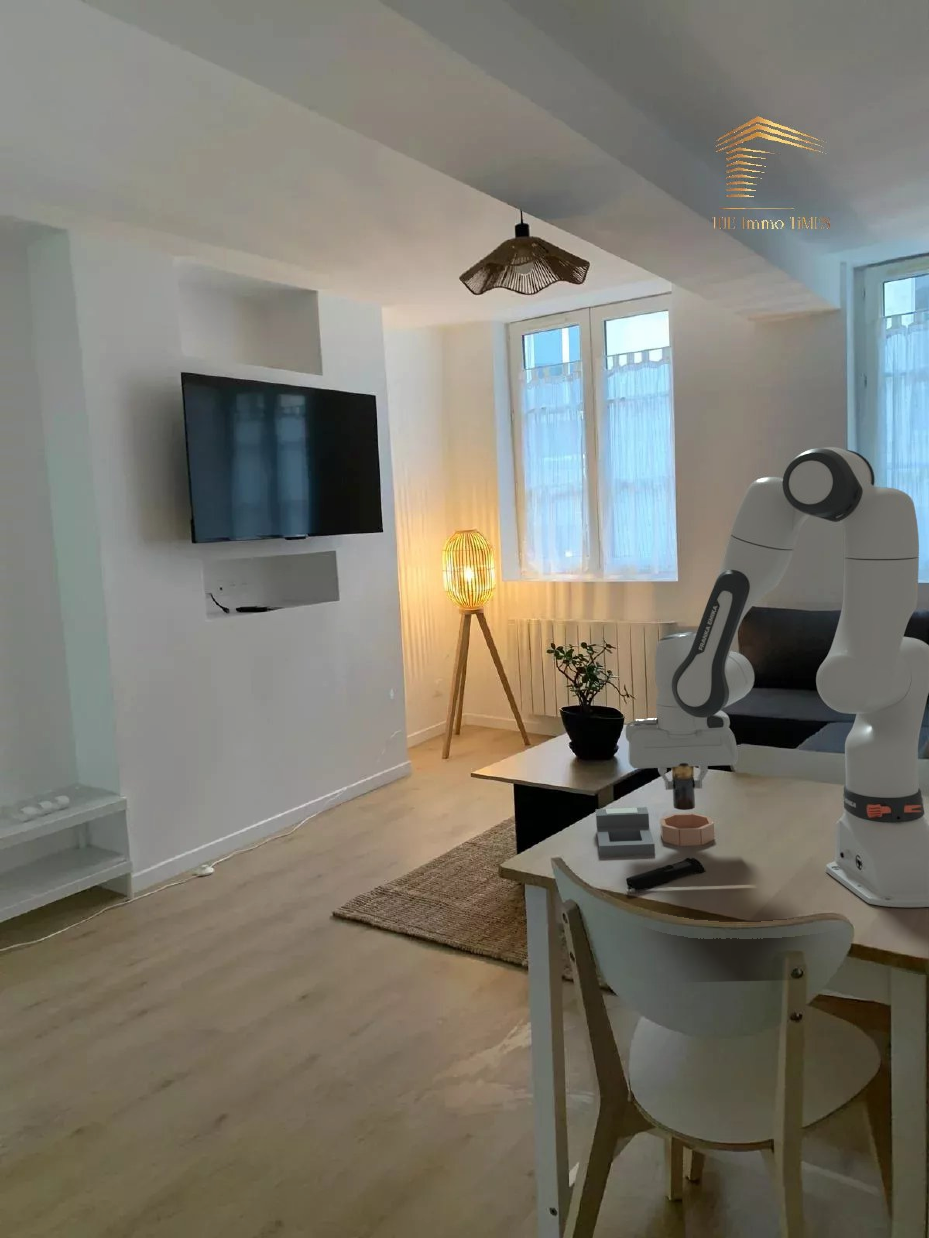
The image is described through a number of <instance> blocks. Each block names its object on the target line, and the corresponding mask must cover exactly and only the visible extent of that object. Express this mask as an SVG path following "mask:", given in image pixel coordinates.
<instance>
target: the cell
mask: <svg viewBox="0 0 929 1238" xmlns="http://www.w3.org/2000/svg"><path fill="white" fill-rule="evenodd" d="M694 769H695V766H688V764H687V763H681V764H679V766H678V767H671V779H672V780H673V788H674V789H673V790H672V800H673V809H676V810H681V811H688V810H689V811H690V810H693V809H695V808H696V802H695V799H696V798H695V797H696V796H695V795H696V794H695V789H694V778H695V771H694Z"/></svg>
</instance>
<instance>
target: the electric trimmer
mask: <svg viewBox="0 0 929 1238" xmlns="http://www.w3.org/2000/svg"><path fill="white" fill-rule="evenodd" d="M705 872H706V869H705V868H704V866H703V864H702V863H701V861H700V860H699V859H697V858H693V857H691V858H690V857H686V858H685V859H683V860H681V861H679V862H675V863H672V864H668V865H664V866H662V867H657V868H654V869H652V870H648V871H644V872H642V873H639V874H636V875H633V876H629V877H627V878H625V879H626V885H627V887H628V888H631V889H633V890H634V891H642V890H648V889H654V888H656V887H658V886H663V885H666V884H669V883H670V882H671V881H674V880H677V879H681V878H685V877H687V876H690V875H693V874H694V875H695V874H703V873H705Z"/></svg>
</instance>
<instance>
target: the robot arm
mask: <svg viewBox="0 0 929 1238" xmlns="http://www.w3.org/2000/svg"><path fill="white" fill-rule="evenodd" d="M875 480H876V479H875V472H874V470H873V467H872V465H871V463H870V462H869V461H868V459H867V458H866V457H864V455H861V454H860V453H858V452H857V451H853V450H849V449H844V448H840V447H836V446H832V447H831V446H830V447H819V448H811V449H808V450H806V451H803V452H801V453H800V454H799V455H798V454H797V456H796V457H795V458H793V459H792V460H791V461H790V462H789V464H788V465H787V467H786V469H785V471H784V473H783V476H782V477H779V476H766V477H762V478H761V477H760V478H758V479H756V480H754V481H753V482H752V483H751V484H750V485H748V487H747V490H746V492H745V493H744V496H743V497H742V500H741V502H740V504H739V506H738V509H737V512H736V515H735V516H734V520H733V523H732V525H731V529H730V533H729V537H728V541H727V544H726V547H725V550H724V555H723V558H722V561H721V565H720V567H719V571H718V574H717V576H716V579H715V582H714V584H713V588H712V590H711V593H710V594H709V598H708V600H707V603H706V606H705V608H704V612H703V614H702V617H701V620H700V623H699V626H698V629H697V631H696V632H694V631H683V632H678V633H675V634H670V635H669V634H668V635H666V636H664V637H662V638H660V640H658V641H657V643H656V648H655V654H654V655H655V656H654V681H655V684H656V687H657V696H656V701H655V704H656V705H655V707H656V709H655V710H656V718H646V719H640V718H639V719H638V718H636V719H633V720H632V721H630V722H629V723H628V724H627V725H626V726H625V738H626V740H627V742H628V757H627V758H628V764H629V766H630V767H632V768H633V769H654V768H655V769H657V771H658V773H659V775H660V776H661V778H662V779H663V781H664V789H665V790H666V791H669V790H672V791H673V789H674V788H673V780H672V778H668V776H667V775H666V773H667V771H668V769H667V768H672V767H678V766H679V764H681V763H687V764H688V766H694V767H698V769H699V773H698V775H697V777H694V790H696V789H697V790H698V789H701V790H703V780H704V778H705V777H706V775H707V773H708V772H709V770H708V769H709V768H708V767H709V766H710V767H711V766H714V767H715V766H733V765H735V764H736V763H737V762H738V760H739V759H738V758H739V754H738V748H737V746H738V745H737V742H736V741H737V740H736V737H735V734H734V732H733V731H732V730H731V728H730V725H731V721H730V717H729V715H728V714H727V713H726V712H725V711H723V709H724V708H726V707H728V706H731V705H732V704H734V703H736V702H737V701H740V700H741V699H743V698H745V697H746V696H747V695H748V694H750V692H751V691H752V690H753V687H754V685H755V681H756V680H755V679H756V675H755V670H754V667H753V665H752V663H751V661H750V660H749V659H748V658H747V657H746V656H745V655H744V654H742V653H740V652H738V651H734V650H732V648H733V646H734V642H735V640H736V636H737V633H738V631H739V629H740V628H739V627H740V626H741V624H742V621H743V619H744V617H745V616H746V615H747V613H748V612H749V611H750V610H751V609H752V607H753V606H754V605H756V603H758V601H760V600H761V599H762V598H763V597H764V596H766V595H768V593H770V592H771V591H774V589H775V588H776V587H777V586H778V585H779V584H780V583H781V581H782V579H783V577H784V576H785V573H786V572H787V571H788V568H789V565H790V563H791V561H792V557H793V554H794V550H795V546H796V543H797V540H798V535H799V533H800V531H801V528H802V526H803V524H804V523H805V521H806V520H807V519H808V518H809V517H810V516H812V517H815V518H818V519H819V518H820V519H822V520H825V521H829V522H832V523H833V522H834V523H838V522H839V524H841V526H842V528H843V533H844V556H843V557H844V561H843V562H844V563H843V565H844V567H843V594H842V595H843V596H842V605H841V611H840V614H839V620H838V623H837V627H836V631H835V634H834V638H833V641H832V644H831V647H830V649H829V651H828V654H827V656H826V657H825V659H824V660H823V662H822V663H821V664H820V665H819V668H818V669H817V672H816V677H815V683H816V689H817V692H818V695H819V697H820V698H821V700H822V701H823V702H824V704H826V705H827V706H828V707H829V708H830V709H831V710H834V711H836V712H837V713H840V714H841V713H842V714H850V715H852V714H853V715H855V718H854V719H855V720H854V722H853V725H852V727H851V729H850V731H849V733H848V734H847V736H846V738H845V742H844V757H845V758H844V761H845V764H844V765H845V785H844V786H843V793H842V800H843V808H844V809H845V810H844V813H843V815H842V816H840V819H838V820H837V821H836V823H835V830H834V831H835V832H834V833H835V834H834V835H835V836H834V861H831V862H829V863H826V865H825V872H826V873H827V874H829V875H830V876H831V877H833V878H834V879H835V880H837V881H838V882H840V884H842V885H843V886H844V887H846V888H847V889H849V890H850V891H851V892H852V893H853V894H855V895H856V896H858V898H861V900H863V901H864V902H866V903H867V904H870V905H876V906H880V907H881V906H882V907H889V908H890V907H891V908H926V907H927V908H929V822H928V818H926V816H925V808H924V804H925V803H924V799H923V796H922V795H923V794H922V791H921V789H920V788H919V739H920V734H921V729H922V723H923V719H924V714H925V709H926V706H927V700H928V696H929V644H927V643H926V642H925V641H923V640H921V639H918V638H915V637H908V636H904V635H905V632H906V629H907V626H908V623H909V622H910V619H911V617H912V615H913V613H914V612H915V611H916V608H917V605H918V601H919V600H918V599H919V595H918V594H919V569H920V568H919V565H920V564H919V563H920V562H919V561H920V544H919V543H920V542H919V526H918V520H917V519H918V518H917V513H916V507H915V503H914V501H913V499H912V498H911V496H910V495H909V494H908V493H906V492H904V491H903V490H900V489H897V488H895V487H887V486H886V487H883V486H882V487H881V486H875Z"/></svg>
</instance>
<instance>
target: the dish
mask: <svg viewBox="0 0 929 1238" xmlns="http://www.w3.org/2000/svg"><path fill="white" fill-rule="evenodd" d="M659 826H660V836H661V839H662V842H664V843H669V844H672V845H675V846H678V847H679V846H681V847H683V846H684V847H686V846H703V845H705V844H707V843H709V842H712V841H714V840H715V824H714V821H713V820H712V817H711V816H707V815H704V814H700V813H695V812H694V813H693V812H689V813H671V814H669V815H667V816H665V817H664V816H663V817H661V818H660V819H659Z"/></svg>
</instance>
